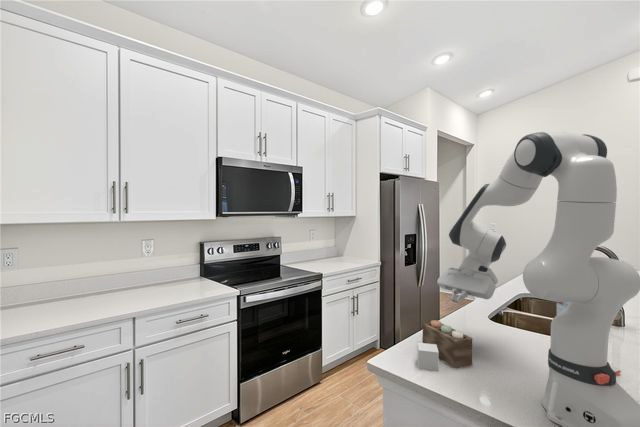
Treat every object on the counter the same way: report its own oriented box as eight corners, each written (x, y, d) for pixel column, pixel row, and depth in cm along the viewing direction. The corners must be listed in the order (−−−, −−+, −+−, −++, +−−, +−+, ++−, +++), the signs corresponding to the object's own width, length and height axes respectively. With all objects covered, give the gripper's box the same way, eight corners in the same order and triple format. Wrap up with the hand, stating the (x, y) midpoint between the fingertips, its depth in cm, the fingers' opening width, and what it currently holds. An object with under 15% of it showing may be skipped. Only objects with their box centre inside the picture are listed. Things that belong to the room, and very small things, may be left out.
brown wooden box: (472, 365, 103) (472, 338, 103) (455, 368, 101) (455, 341, 101) (437, 345, 118) (438, 321, 118) (422, 347, 116) (422, 323, 116)
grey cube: (417, 360, 107) (417, 342, 107) (436, 362, 105) (436, 344, 105) (418, 368, 101) (418, 350, 101) (438, 371, 100) (438, 352, 99)
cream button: (465, 341, 104) (465, 333, 104) (457, 342, 102) (457, 335, 102) (457, 337, 107) (457, 330, 107) (449, 338, 106) (449, 331, 106)
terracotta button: (442, 329, 113) (443, 322, 113) (435, 330, 112) (435, 324, 112) (436, 326, 117) (436, 319, 117) (428, 327, 115) (428, 320, 115)
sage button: (453, 335, 109) (453, 328, 108) (445, 336, 107) (445, 329, 107) (446, 331, 112) (446, 324, 112) (438, 332, 111) (438, 325, 110)
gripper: (444, 261, 125) (427, 289, 120) (495, 270, 107) (477, 302, 102) (451, 272, 127) (434, 299, 122) (502, 281, 110) (485, 314, 105)
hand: (454, 301), depth 112 cm, fingers closed
